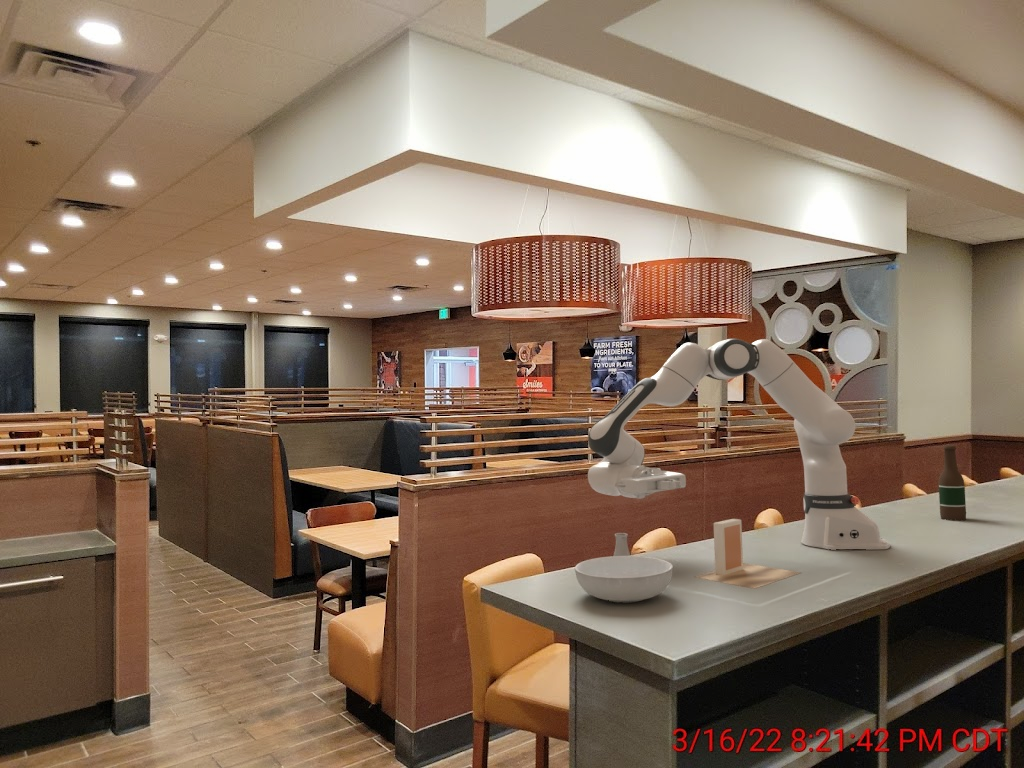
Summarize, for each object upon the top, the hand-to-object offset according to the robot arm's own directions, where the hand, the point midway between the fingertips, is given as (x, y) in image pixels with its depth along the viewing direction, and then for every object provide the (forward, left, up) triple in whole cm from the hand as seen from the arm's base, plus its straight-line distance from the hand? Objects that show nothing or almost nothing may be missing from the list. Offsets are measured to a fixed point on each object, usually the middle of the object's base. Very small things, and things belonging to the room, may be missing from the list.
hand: (678, 485), depth 189 cm
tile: (-12, +9, -20) cm, 25 cm away
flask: (+13, +14, -20) cm, 28 cm away
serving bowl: (+10, +34, -20) cm, 41 cm away
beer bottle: (-83, -79, -20) cm, 116 cm away
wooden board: (-16, +11, -20) cm, 28 cm away
